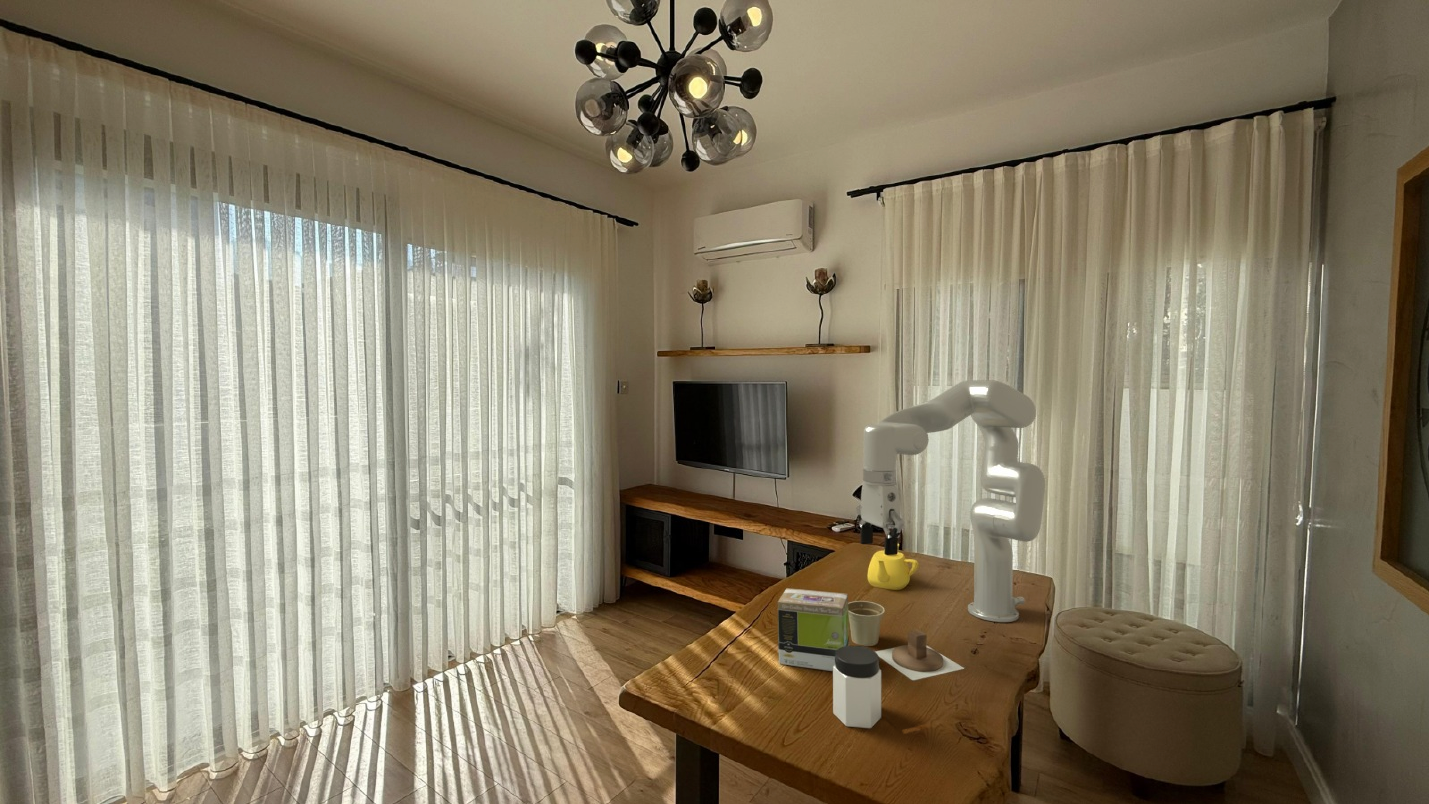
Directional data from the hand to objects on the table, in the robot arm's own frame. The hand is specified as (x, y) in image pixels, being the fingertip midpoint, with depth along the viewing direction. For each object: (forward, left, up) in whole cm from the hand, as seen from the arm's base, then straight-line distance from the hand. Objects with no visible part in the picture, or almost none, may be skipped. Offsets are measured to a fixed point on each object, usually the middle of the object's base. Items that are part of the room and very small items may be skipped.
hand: (878, 548), depth 138 cm
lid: (-4, +8, -24) cm, 26 cm away
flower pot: (+1, -5, -25) cm, 25 cm away
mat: (-4, +8, -24) cm, 26 cm away
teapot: (-32, -37, -25) cm, 55 cm away
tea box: (+17, -2, -25) cm, 30 cm away
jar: (+21, +21, -25) cm, 38 cm away
